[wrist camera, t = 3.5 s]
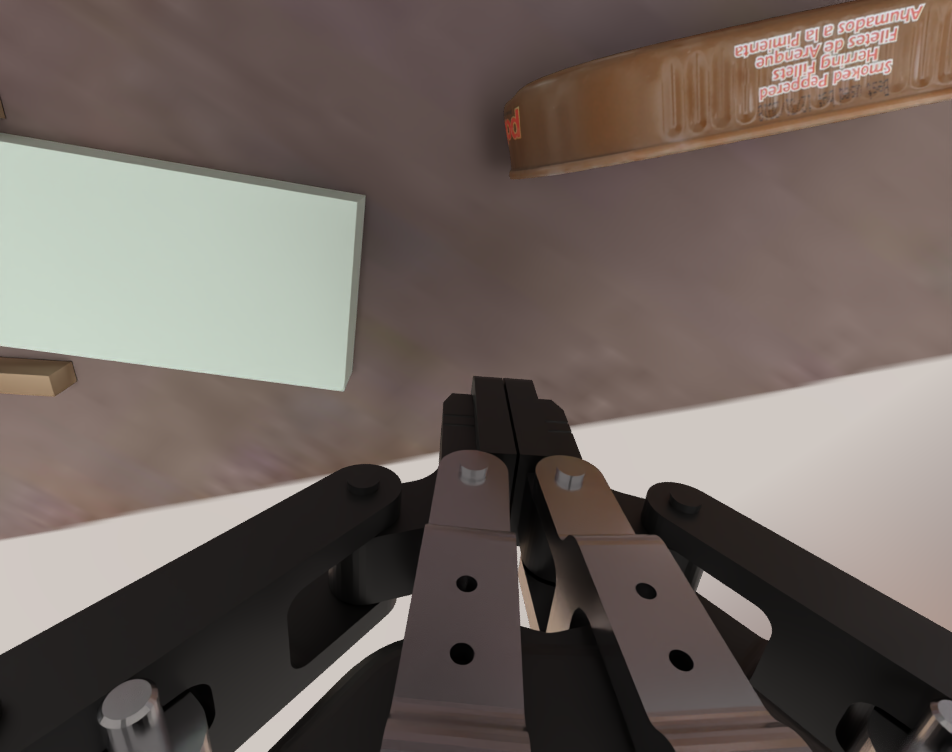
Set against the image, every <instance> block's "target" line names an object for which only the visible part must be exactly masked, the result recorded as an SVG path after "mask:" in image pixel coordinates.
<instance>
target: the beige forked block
mask: <svg viewBox="0 0 952 752" xmlns="http://www.w3.org/2000/svg"><path fill="white" fill-rule="evenodd" d="M0 118H5V115H4V111H3V108H2V104H1V100H0ZM75 382H77V380H76V376H75V372H74V369H73V365H72V362H68V361H52V360H36V359H20V358H4V357H0V393H2V394H19V395H36V396H54V397H55V396H56V395H58V394H59V393H61V392H62V391H64V390H65V389H66V388H68V387H69V386H71V385H72V384H74V383H75Z"/></svg>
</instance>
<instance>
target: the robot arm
mask: <svg viewBox="0 0 952 752" xmlns="http://www.w3.org/2000/svg"><path fill="white" fill-rule="evenodd" d="M517 546H520V550H521V557H520V563H519V568H517ZM703 571H705V572H707V573H708V574H710V575H711V576H713V577H714V578H716V579H717V580H719V581H720V582H722V583H723V584H725V585H726V586H728V587H729V588H731V589H732V590H734V591H735V592H737V593H738V594H740V595H741V596H743V597H744V598H746V599H747V600H749V601H750V602H752V603H753V604H755V605H756V606H757V607H759V608H760V609H761V610H762V611H763V612H764V613H765V614H766V616H767V617H768V619H769V621H770V623H771V626H772V635H771V638H770V640H769V641H768V640H765V639H763V638H761V637H759V636H758V635H757V634H755V633H754V632H752V631H751V630H749V629H748V628H747V627H745V626H744V625H742V624H741V623H739V622H738V621H737V620H735V619H734V618H732V617H731V616H730V615H728V614H727V613H725V612H724V611H722V610H721V609H720V608H718V607H717V606H715V605H714V604H712V603H711V602H710V601H708V600H707V599H706V598H704V597H702V596H701V595H700V594H698V593H697V592H696V590H697V587H698V584H699V581H700V579H701V576H702V573H703ZM518 578H519V582H520V587H521V591H522V595H523V599H524V603H525V607H526V612H527V616H528V620H529V624H530V628H531V629H530V628H526V627H522V626H520V612H519V589H518ZM411 594H412V598H411V604H410V609H409V614H408V621H407V625H406V631H405V636H404V639H403V640H400V641H397V642H394V643H392V644H389V645H387V646H385V647H383V648H381V649H379V650H377V651H376V652H374V653H372V654H371V655H369V656H368V657H366V658H365V659H363V660H362V661H361V662H360V663H358V664H357V665H356V666H354V667H353V668H352V669H351V670H350V671H348V672H347V674H345V675H344V676H343V677H342V678H341V679H340V680H339V681H338V682H337V683H336V684H335V685H334V686H333V687H332V688H331V689H330V690H329V691H328V692H327V693H326V694H325V695H324V696H323V697H322V698H321V699H320V700H319V701H318V702H317V703H316V704H315V705H314V706H313V707H312V708H311V709H310V710H309V711H308V712H307V713H306V714H305V715H304V716H303V717H302V718H301V719H300V720H299V721H298V722H297V723H296V724H295V725H294V726H293V727H292V728H291V729H290V730H289V731H288V732H287V733H286V734H285V735H284V736H283V737H282V738H281V739H280V740H279V741H278V742H277V743H276V744H275V745H274V746H273V747H272V748H271V749H270V750H269V751H268V752H952V632H950V631H949V630H947V629H945V628H943V627H941V626H940V625H938V624H936V623H934V622H933V621H931V620H929V619H927V618H925V617H924V616H922V615H920V614H918V613H917V612H915V611H913V610H911V609H909V608H908V607H906V606H904V605H902V604H901V603H899V602H897V601H895V600H893V599H892V598H890V597H888V596H886V595H884V594H883V593H881V592H879V591H877V590H875V589H874V588H872V587H870V586H868V585H867V584H865V583H863V582H861V581H860V580H858V579H856V578H854V577H853V576H851V575H849V574H847V573H845V572H844V571H842V570H840V569H838V568H837V567H835V566H833V565H831V564H830V563H828V562H826V561H824V560H822V559H821V558H819V557H817V556H815V555H814V554H812V553H810V552H808V551H806V550H805V549H803V548H801V547H799V546H797V545H796V544H794V543H792V542H790V541H789V540H787V539H785V538H783V537H781V536H780V535H778V534H776V533H775V532H773V531H771V530H769V529H767V528H766V527H764V526H762V525H760V524H758V523H757V522H755V521H753V520H751V519H750V518H748V517H746V516H744V515H742V514H741V513H739V512H737V511H735V510H734V509H732V508H730V507H728V506H727V505H725V504H723V503H721V502H719V501H718V500H716V499H714V498H712V497H711V496H709V495H707V494H705V493H703V492H702V491H700V490H698V489H696V488H693V487H691V486H687V485H684V484H680V483H674V482H662V483H657V484H655V485H653V486H652V487H650V488H649V490H648V492H647V495H646V499H643V498H639V497H636V496H631V495H628V494H624V493H621V492H617V491H614V490H612V489H610V487H609V486H608V484H607V482H606V480H605V478H604V476H603V475H602V473H601V472H600V471H599V470H598V469H597V468H596V467H595V466H594V465H592V464H590V463H589V462H587V461H584V460H582V457H581V455H580V452H579V449H578V447H577V444H576V442H575V439H574V437H573V434H572V433H571V429H570V426H569V424H568V421H567V419H566V416H565V413H564V411H563V410H562V409H561V408H560V407H559V406H558V405H557V404H555V403H554V402H553V401H552V400H545V399H538V397H537V394H536V390H535V387H534V384H533V381H532V380H524V379H509V378H503V380H502V378H494V377H480V376H473V381H472V390H471V395H469V394H455V393H452V394H451V395H450V396H449V397H448V398H447V399H446V400H445V401H444V403H443V415H442V428H441V440H440V453H439V466H438V469H437V470H436V471H435V472H434V473H432V474H431V475H429V476H427V477H425V478H423V479H420V480H417V481H412V482H406V483H401V481H400V478H399V477H398V476H397V475H396V474H395V473H394V472H393V471H391V470H389V469H387V468H385V467H382V466H378V465H372V464H359V465H352V466H348V467H345V468H342V469H340V470H338V471H336V472H334V473H333V474H331V475H329V476H327V477H325V478H323V479H322V480H320V481H318V482H316V483H314V484H312V485H311V486H309V487H307V488H305V489H303V490H302V491H300V492H298V493H296V494H294V495H292V496H290V497H289V498H287V499H285V500H283V501H281V502H280V503H278V504H276V505H274V506H272V507H271V508H268V509H267V510H265V511H263V512H261V513H259V514H258V515H256V516H254V517H252V518H250V519H248V520H247V521H245V522H243V523H241V524H239V525H237V526H236V527H234V528H232V529H230V530H229V531H227V532H225V533H223V534H221V535H219V536H217V537H216V538H214V539H212V540H210V541H208V542H207V543H205V544H203V545H201V546H199V547H197V548H195V549H193V550H192V551H190V552H188V553H186V554H184V555H182V556H181V557H179V558H177V559H175V560H173V561H172V562H170V563H168V564H166V565H164V566H163V567H161V568H159V569H157V570H155V571H153V572H151V573H150V574H148V575H146V576H144V577H142V578H140V579H139V580H137V581H135V582H133V583H131V584H129V585H128V586H126V587H124V588H122V589H120V590H118V591H117V592H115V593H113V594H111V595H109V596H107V597H106V598H104V599H102V600H100V601H98V602H96V603H95V604H93V605H91V606H89V607H87V608H85V609H84V610H82V611H80V612H78V613H76V614H75V615H73V616H71V617H69V618H67V619H65V620H63V621H62V622H60V623H58V624H56V625H54V626H53V627H51V628H49V629H47V630H45V631H43V632H42V633H40V634H38V635H36V636H34V637H33V638H31V639H29V640H27V641H25V642H23V643H22V644H20V645H18V646H16V647H14V648H12V649H10V650H9V651H7V652H5V653H3V654H1V655H0V752H234V751H235V750H237V749H238V748H239V747H240V746H241V745H242V744H243V743H244V742H246V741H247V740H248V739H249V738H250V737H251V736H252V735H253V734H254V733H256V732H257V731H258V730H259V729H260V728H261V727H262V726H263V725H265V724H266V723H267V722H268V721H269V720H270V719H271V718H272V717H273V716H275V715H276V714H277V713H278V712H279V711H280V710H281V709H282V708H284V707H285V706H286V705H287V704H288V703H289V702H290V701H291V700H293V699H294V698H295V697H296V696H297V695H298V694H299V693H300V692H301V691H303V690H304V689H305V688H306V687H307V686H308V685H309V684H310V683H312V682H313V681H314V680H315V679H316V678H317V677H318V676H319V675H320V674H322V673H323V672H324V671H325V670H326V669H327V668H328V667H329V666H331V665H332V664H333V663H334V662H335V661H336V660H337V659H338V658H339V657H341V656H342V655H343V654H344V653H345V652H346V651H347V650H348V649H350V647H352V646H353V645H354V644H355V643H356V642H357V641H358V640H360V638H362V637H363V636H364V635H365V634H366V633H367V632H369V630H371V629H372V628H373V627H374V626H375V625H376V624H378V623H379V622H380V621H381V620H382V619H383V618H384V617H385V616H386V615H387V614H389V612H390V611H391V610H392V609H393V607H394V605H395V603H396V599H397V598H399V597H403V596H407V595H411Z"/></svg>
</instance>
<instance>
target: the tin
mask: <svg viewBox="0 0 952 752" xmlns="http://www.w3.org/2000/svg"><path fill="white" fill-rule="evenodd" d="M948 100H952V0H855V1H850V2H845V3H840V4H836V5H831V6H826V7H821V8H817V9H812V10H807V11H802V12H797V13H793V14H789V15H784V16H779V17H774V18H769V19H765V20H760V21H756V22H752V23H747V24H742V25H737V26H733V27H728V28H724V29H720V30H715V31H711V32H707V33H702V34H698V35H694V36H689V37H685V38H680V39H675V40H670V41H666V42H662V43H657V44H653V45H649V46H645V47H641V48H637V49H633V50H629V51H625V52H621V53H618V54H614V55H610V56H607V57H603V58H599V59H596V60H592V61H589V62H586V63H582V64H579V65H576V66H573V67H570V68H567V69H564V70H561V71H558V72H555V73H552V74H550V75H547V76H544V77H542V78H540V79H537V80H535V81H533V82H531V83H529V84H527V85H526V86H524V87H523V88H522V89H520V90H519V91H518V92H517V94H516V95H515V96H514V97H513V98H512V99H511V100H509V101H508V102H507V103H506V105H505V107H504V120H505V128H506V134H507V139H508V145H509V152H510V159H511V171H510V174H509V177H510V179H525V178H535V177H544V176H554V175H559V174H565V173H570V172H577V171H582V170H588V169H593V168H600V167H606V166H613V165H617V164H624V163H629V162H633V161H638V160H645V159H650V158H658V157H661V156H665V155H671V154H677V153H682V152H688V151H693V150H697V149H702V148H707V147H713V146H718V145H723V144H729V143H734V142H738V141H743V140H749V139H755V138H760V137H765V136H770V135H774V134H780V133H784V132H789V131H794V130H800V129H803V128H809V127H814V126H819V125H825V124H830V123H835V122H840V121H845V120H850V119H855V118H860V117H865V116H870V115H875V114H881V113H886V112H891V111H896V110H901V109H906V108H911V107H916V106H921V105H926V104H933V103H937V102H942V101H948Z"/></svg>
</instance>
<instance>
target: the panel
mask: <svg viewBox="0 0 952 752" xmlns="http://www.w3.org/2000/svg"><path fill="white" fill-rule="evenodd" d="M365 198H366V195H361V194H355V193H349V192H343V191H337V190H332V189H326V188H320V187H314V186H308V185H302V184H297V183H291V182H285V181H279V180H273V179H268V178H262V177H256V176H250V175H244V174H239V173H233V172H227V171H221V170H215V169H210V168H204V167H198V166H192V165H186V164H181V163H175V162H169V161H163V160H157V159H152V158H146V157H140V156H134V155H128V154H122V153H117V152H111V151H105V150H99V149H93V148H88V147H82V146H76V145H70V144H64V143H59V142H53V141H47V140H41V139H35V138H30V137H24V136H18V135H12V134H6V133H1V132H0V346H6V347H13V348H21V349H28V350H36V351H43V352H51V353H58V354H66V355H73V356H81V357H88V358H96V359H103V360H111V361H118V362H126V363H133V364H141V365H148V366H156V367H163V368H171V369H178V370H186V371H193V372H201V373H208V374H216V375H223V376H231V377H238V378H246V379H253V380H261V381H268V382H276V383H283V384H291V385H298V386H306V387H313V388H321V389H328V390H336V391H343V392H344V390H345V388H346V385H347V383H348V381H349V378H350V376H351V373H352V368H353V355H354V342H355V329H356V316H357V303H358V290H359V276H360V263H361V250H362V237H363V224H364V211H365Z"/></svg>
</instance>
